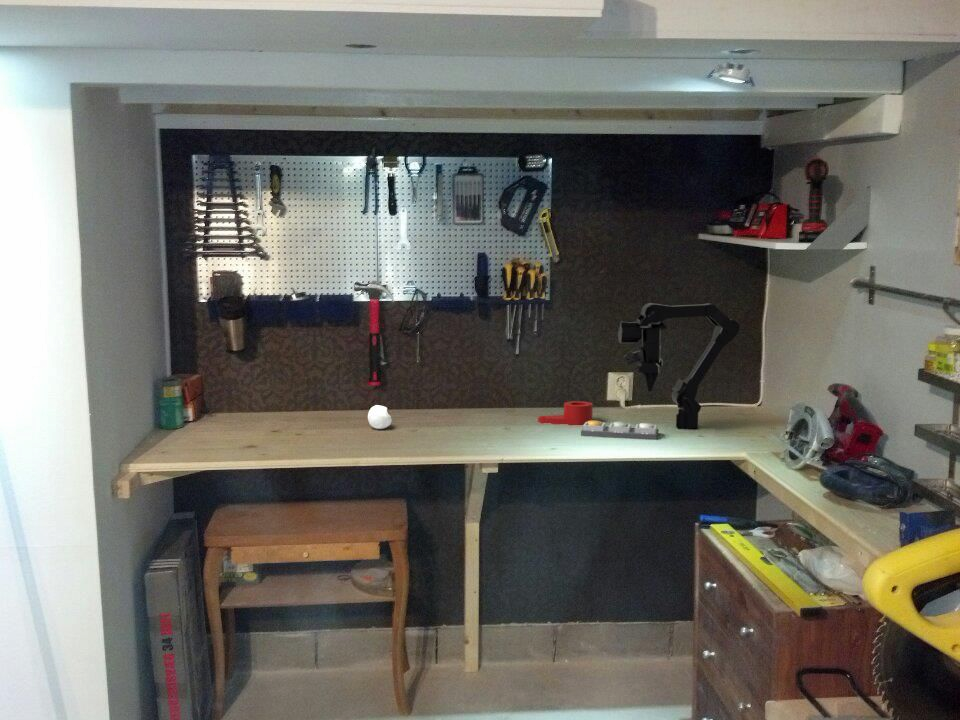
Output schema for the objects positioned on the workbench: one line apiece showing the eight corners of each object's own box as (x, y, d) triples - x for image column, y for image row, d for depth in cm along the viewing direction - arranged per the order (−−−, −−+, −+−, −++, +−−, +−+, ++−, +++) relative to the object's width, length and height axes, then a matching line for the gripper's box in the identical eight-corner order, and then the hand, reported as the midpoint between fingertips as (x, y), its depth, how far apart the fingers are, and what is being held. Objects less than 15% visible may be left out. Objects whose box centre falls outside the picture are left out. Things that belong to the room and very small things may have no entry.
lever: (590, 420, 315) (590, 401, 314) (593, 426, 306) (594, 406, 305) (537, 420, 315) (537, 401, 314) (538, 426, 306) (539, 406, 305)
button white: (652, 429, 290) (653, 423, 290) (651, 432, 287) (652, 425, 286) (639, 428, 291) (640, 422, 291) (638, 431, 288) (638, 425, 287)
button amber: (601, 426, 295) (601, 420, 294) (599, 429, 291) (599, 423, 290) (588, 426, 296) (589, 420, 295) (587, 428, 292) (587, 422, 291)
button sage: (627, 428, 292) (627, 421, 292) (625, 430, 289) (625, 424, 288) (614, 427, 294) (614, 421, 293) (612, 430, 290) (612, 423, 289)
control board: (658, 433, 293) (658, 424, 292) (656, 439, 284) (656, 430, 284) (585, 429, 299) (585, 420, 298) (580, 435, 290) (581, 426, 289)
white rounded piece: (392, 431, 298) (392, 407, 297) (368, 431, 296) (368, 407, 295) (391, 426, 305) (390, 402, 304) (367, 426, 304) (367, 403, 303)
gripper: (629, 339, 309) (628, 385, 311) (622, 345, 291) (621, 394, 293) (663, 340, 306) (662, 387, 308) (658, 346, 288) (657, 396, 290)
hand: (650, 391), depth 300 cm, fingers closed
